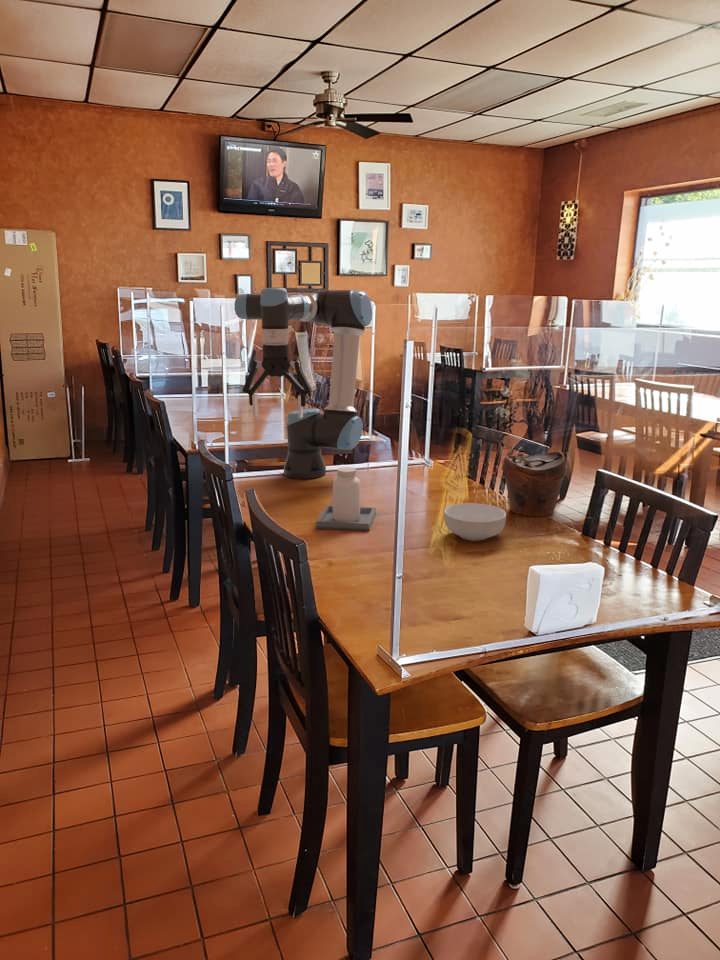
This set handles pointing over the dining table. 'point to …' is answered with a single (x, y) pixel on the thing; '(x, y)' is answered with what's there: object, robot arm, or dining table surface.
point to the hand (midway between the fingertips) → (278, 417)
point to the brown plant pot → (534, 482)
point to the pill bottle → (346, 495)
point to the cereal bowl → (474, 520)
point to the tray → (362, 524)
